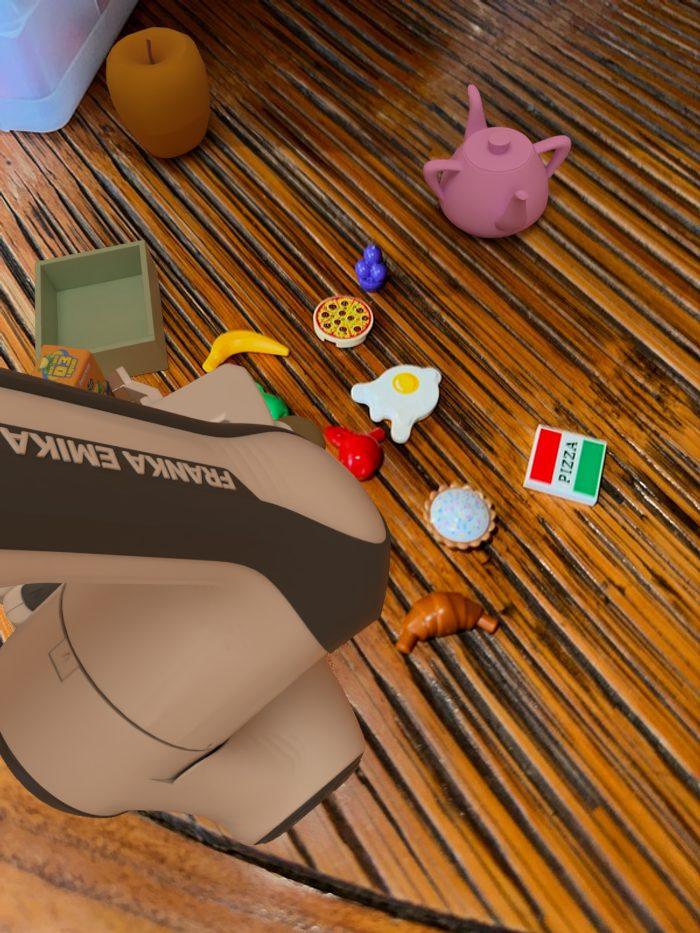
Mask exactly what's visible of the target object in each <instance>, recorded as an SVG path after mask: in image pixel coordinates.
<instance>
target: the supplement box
mask: <svg viewBox="0 0 700 933" xmlns="http://www.w3.org/2000/svg"><path fill="white" fill-rule="evenodd" d="M32 370H33V371H32V372H31V374H30V375H32V376H36V377H40V378H44V379H48V380H51V381H55V382H59V383H63V384H66V385H70V386H74V387H78V388H81V389H85V390H89V391H93V392H97V393H100V394H104V395H108V396H112V397H115V396H114V394H113V393H112V391H111V389H110V388H109V386H108V383H107V381H106V379H105V377H104V376H103V374H102V372H101V370H100V368H99V366H98V364H97V362H96V360H95V359H94V357H93V355H92V353H91V352H90V351H89V350H84V349H78V348H71V347H63V346H55V345H43V347H42V349H41V356H40V358H39V360H38V362H37V364H36V365H35V366H34V369H32Z"/></svg>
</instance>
